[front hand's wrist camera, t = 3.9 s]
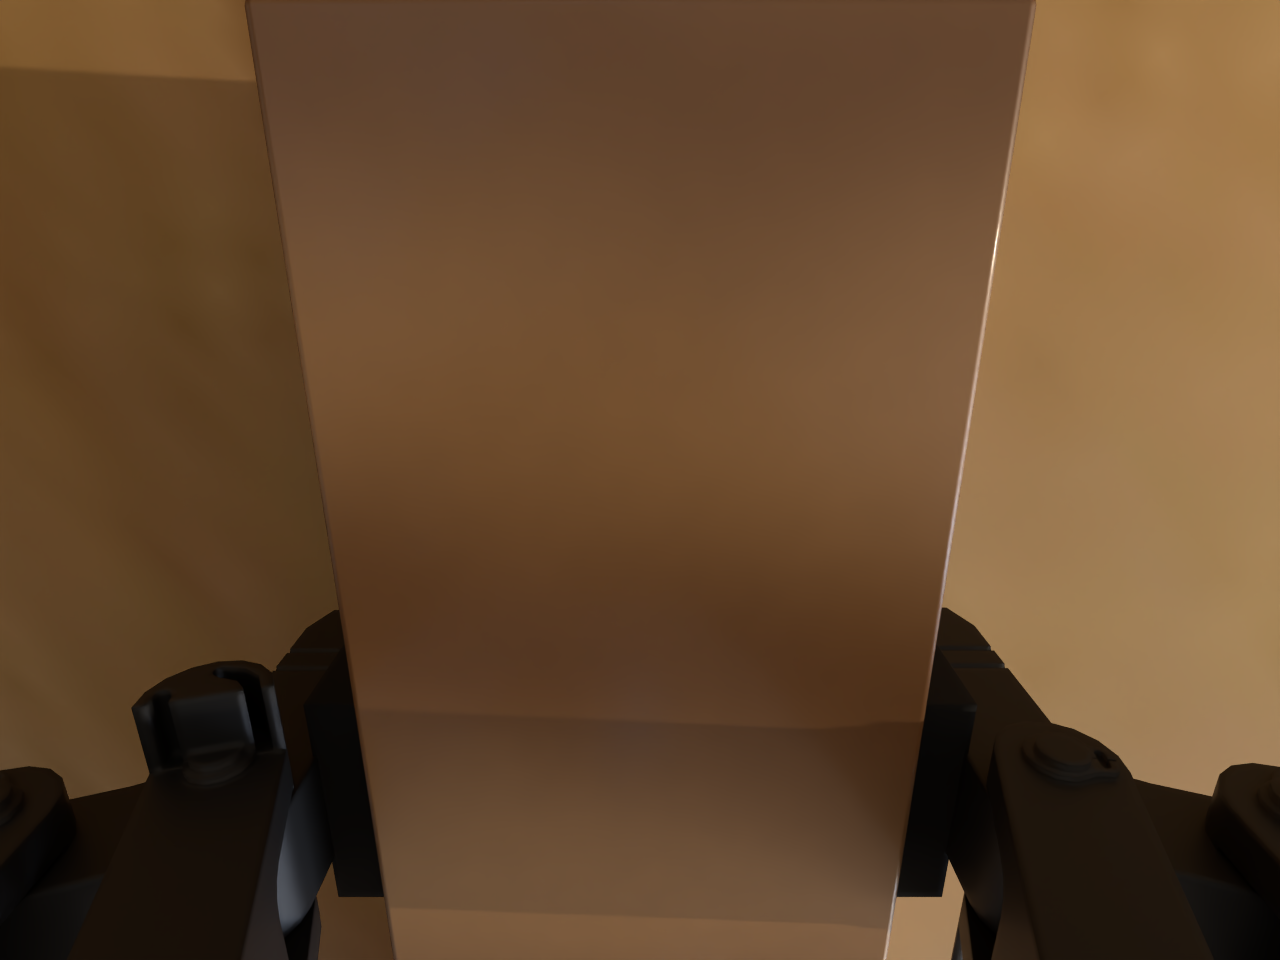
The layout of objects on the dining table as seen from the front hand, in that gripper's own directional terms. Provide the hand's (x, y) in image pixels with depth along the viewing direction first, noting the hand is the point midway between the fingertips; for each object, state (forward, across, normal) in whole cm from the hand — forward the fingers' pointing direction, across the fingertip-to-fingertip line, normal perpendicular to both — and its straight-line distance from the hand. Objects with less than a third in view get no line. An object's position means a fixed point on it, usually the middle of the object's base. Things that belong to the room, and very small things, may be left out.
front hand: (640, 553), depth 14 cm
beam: (+1, 0, -26) cm, 26 cm away
